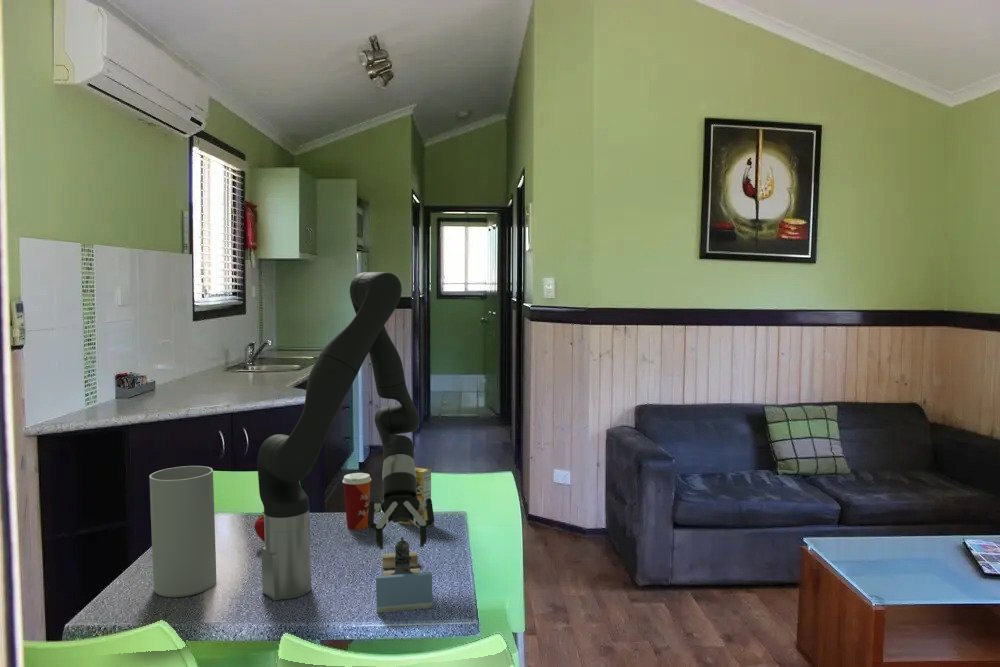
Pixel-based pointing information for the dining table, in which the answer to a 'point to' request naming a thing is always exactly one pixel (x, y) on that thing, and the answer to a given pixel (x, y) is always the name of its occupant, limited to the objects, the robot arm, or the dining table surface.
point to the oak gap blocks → (390, 563)
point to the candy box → (422, 490)
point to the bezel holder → (404, 592)
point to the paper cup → (357, 500)
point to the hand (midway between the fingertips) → (402, 546)
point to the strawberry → (260, 527)
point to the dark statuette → (402, 558)
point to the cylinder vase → (183, 530)
